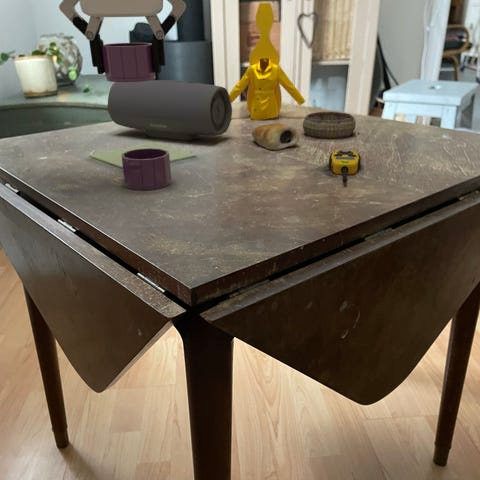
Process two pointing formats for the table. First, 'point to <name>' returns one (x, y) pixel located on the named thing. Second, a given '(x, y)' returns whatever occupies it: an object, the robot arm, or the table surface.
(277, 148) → the pastry
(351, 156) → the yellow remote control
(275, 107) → the yellow coat
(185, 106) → the bluetooth speaker
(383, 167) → the table surface
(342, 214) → the table surface
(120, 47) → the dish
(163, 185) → the ribbed purple cap
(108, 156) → the placemat
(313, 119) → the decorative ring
